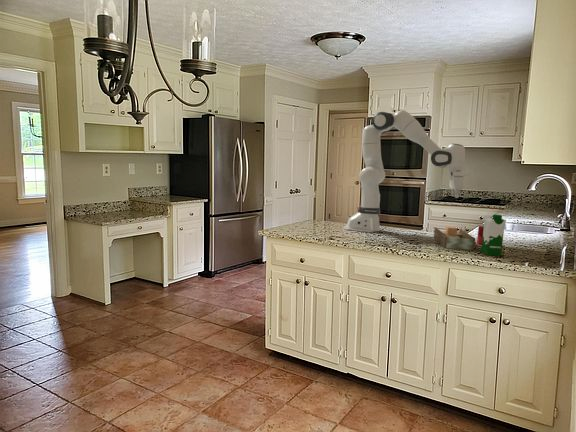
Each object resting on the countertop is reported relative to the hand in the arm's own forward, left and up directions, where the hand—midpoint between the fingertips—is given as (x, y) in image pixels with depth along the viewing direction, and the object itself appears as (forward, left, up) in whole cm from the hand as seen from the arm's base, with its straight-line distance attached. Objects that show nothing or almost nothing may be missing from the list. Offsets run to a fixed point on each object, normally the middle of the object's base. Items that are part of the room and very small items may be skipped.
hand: (455, 197), depth 247 cm
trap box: (-2, -12, -25) cm, 27 cm away
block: (-2, -6, -21) cm, 21 cm away
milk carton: (+12, -33, -25) cm, 43 cm away
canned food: (+16, -9, -25) cm, 31 cm away
